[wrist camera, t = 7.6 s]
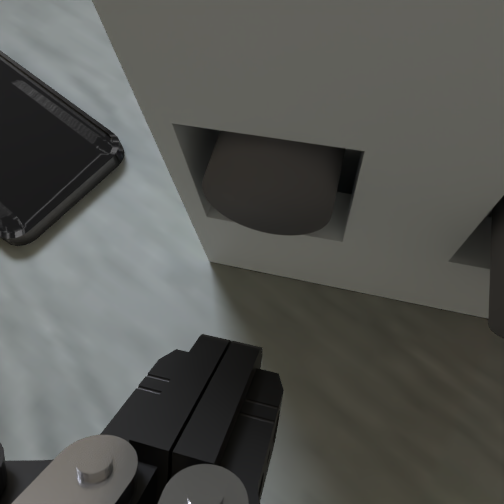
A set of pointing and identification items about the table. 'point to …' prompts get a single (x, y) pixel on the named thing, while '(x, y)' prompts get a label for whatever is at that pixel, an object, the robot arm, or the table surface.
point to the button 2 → (497, 270)
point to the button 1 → (273, 182)
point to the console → (337, 129)
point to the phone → (45, 154)
